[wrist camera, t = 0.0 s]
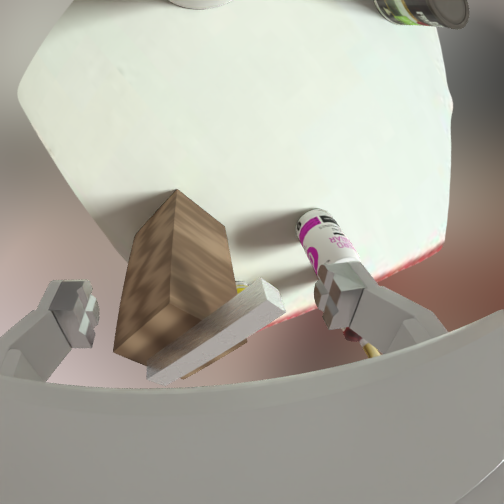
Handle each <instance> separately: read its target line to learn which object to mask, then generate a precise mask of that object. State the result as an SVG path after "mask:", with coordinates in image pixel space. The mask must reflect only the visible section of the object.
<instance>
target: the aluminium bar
mask: <svg viewBox="0 0 504 504" xmlns="http://www.w3.org/2000/svg"><path fill="white" fill-rule="evenodd" d="M284 313H286V310H285V307H284V304H283V301H282V298H281V296H280V293H279V290H278V289H276V288H275V287H274V286H272V285H271V284H269V283H268V282H267V281H265V280H264V279H262V278H261V277H260V278H259V279H257V280H256V281H255V282H253V283H252V284H251V285H249V286H248V287H247V288H245V289H244V290H243V291H241V292H240V293H239V294H237V295H236V296H235V297H233V298H232V299H231V300H229V301H228V302H227V303H225V304H224V305H222V306H221V307H220V308H218V309H217V310H216V311H214V312H213V313H212V314H210V315H209V316H208V317H206V318H205V319H203V320H202V321H201V322H199V323H198V324H197V325H195V326H194V327H192V328H191V329H190V330H188V331H187V332H186V333H184V334H183V335H181V336H180V337H179V338H177V339H176V340H174V341H173V342H172V343H170V344H169V345H167V346H166V347H165V348H163V349H162V350H160V351H159V352H158V353H156V354H155V355H153V356H152V357H151V358H149V359H148V360H147V376H146V377H147V380H149V381H152V382H155V383H158V384H161V385H164V386H166V385H168V384H170V383H171V382H173V381H175V380H177V379H179V378H181V377H182V376H184V375H186V374H188V373H189V372H191V371H193V370H195V369H196V368H198V367H200V366H201V365H203V364H205V363H207V362H208V361H210V360H212V359H213V358H215V357H217V356H218V355H220V354H222V353H223V352H225V351H226V350H228V349H230V348H231V347H233V346H235V345H236V344H238V343H239V342H241V341H243V340H244V339H246V338H247V337H249V336H250V335H252V334H254V333H255V332H257V331H258V330H260V329H261V328H263V327H264V326H266V325H267V324H269V323H271V322H272V321H274V320H275V319H277V318H278V317H280V316H281V315H283V314H284Z"/></svg>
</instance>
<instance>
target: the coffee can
mask: <svg viewBox="0 0 504 504" xmlns="http://www.w3.org/2000/svg"><path fill="white" fill-rule="evenodd" d="M374 2H375V5H376V7H377V9H378V10H379V12H380V13H381V14H382V15H383V16H384V17H385V18H386V19H387V20H389V21H390V22H392V23H394V24H397V25H422V26H435V27H447V28H451V29H462V28H463V27H465V25H466V24H467V22H468V19H469V6H468V2H467V0H374Z"/></svg>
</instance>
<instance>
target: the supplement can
mask: <svg viewBox="0 0 504 504" xmlns="http://www.w3.org/2000/svg"><path fill="white" fill-rule="evenodd" d="M296 235H297V237H298V239H299V240H300V242H301V244H302V246H303V248H304V250H305V252H306V254H307V256H308V258H309V260H310V262H311V264H312V266H313V268H314V270H315V273H316V275H317V277H318V278H319V279H320V277H319V276H318V270H319V267H320V265H322V264H333V263H344V262H349V261H359V262H360V257H359V254H358V252H357V251H356V250H355V248H354V247H353V245H352V244H351V242H350V241H349V239H348V238H347V237H346V235H345V234H344V232H343V231H342V230H341V228H340V227H339V225H338V224H337V223H336V221H335V220H334V218H333V217H332V216H331V214H330V213H328V212H327V211H325V210H322V209H314V210H311V211H309V212H307V213H305V214H304V215H303V216H301V218H300V219H299V221H298V222H297V225H296Z"/></svg>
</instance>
